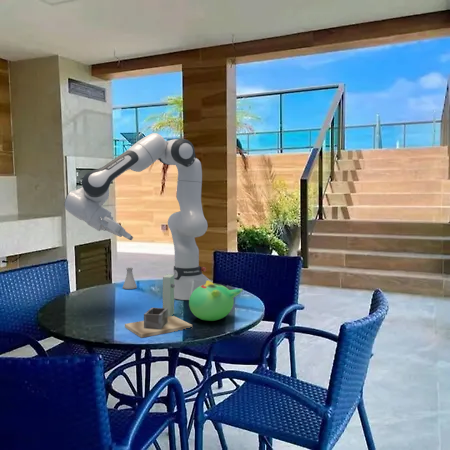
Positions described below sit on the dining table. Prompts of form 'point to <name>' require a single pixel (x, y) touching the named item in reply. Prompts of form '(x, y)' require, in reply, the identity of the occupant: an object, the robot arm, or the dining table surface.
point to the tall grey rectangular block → (168, 293)
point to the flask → (129, 280)
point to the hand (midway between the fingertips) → (131, 238)
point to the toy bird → (212, 301)
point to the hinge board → (152, 332)
